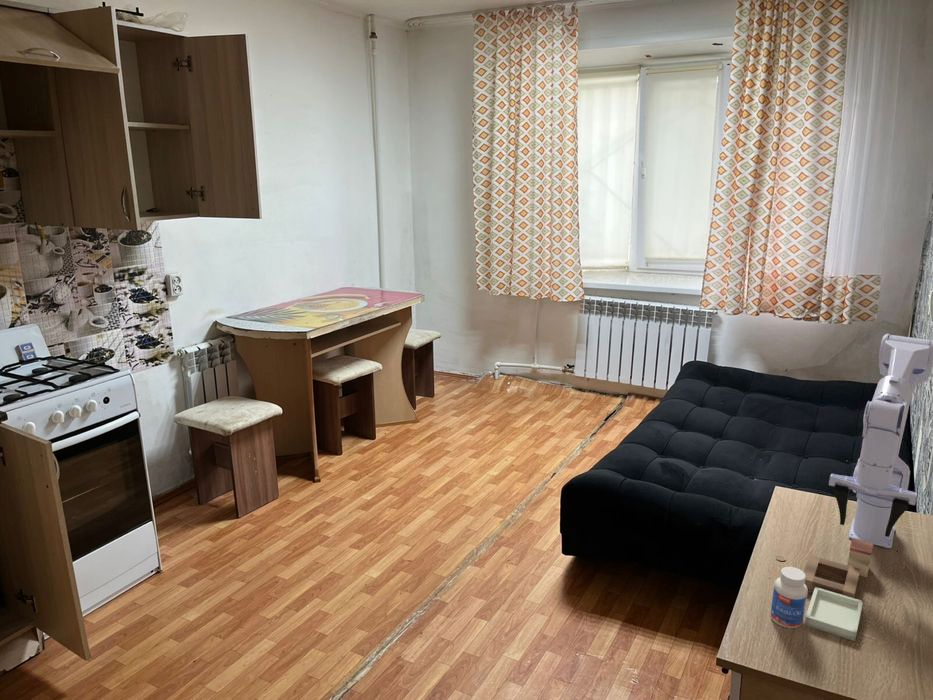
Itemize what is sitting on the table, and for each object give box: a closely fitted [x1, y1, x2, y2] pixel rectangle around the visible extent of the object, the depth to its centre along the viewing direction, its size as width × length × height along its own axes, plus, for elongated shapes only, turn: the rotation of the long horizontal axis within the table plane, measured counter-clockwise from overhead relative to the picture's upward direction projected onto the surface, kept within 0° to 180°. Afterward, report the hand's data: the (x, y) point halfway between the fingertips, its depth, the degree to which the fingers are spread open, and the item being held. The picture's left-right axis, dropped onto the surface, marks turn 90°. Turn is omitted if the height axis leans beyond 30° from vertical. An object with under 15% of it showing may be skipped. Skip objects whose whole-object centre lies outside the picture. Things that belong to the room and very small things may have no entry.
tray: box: [804, 587, 864, 642], centre depth 127 cm, size 10×8×2 cm
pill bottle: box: [770, 566, 809, 629], centre depth 126 cm, size 6×5×10 cm
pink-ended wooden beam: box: [847, 539, 874, 578], centre depth 140 cm, size 4×4×6 cm
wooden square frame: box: [803, 554, 860, 599], centre depth 136 cm, size 9×9×2 cm
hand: (864, 529), depth 137 cm, fingers open, 7 cm apart
